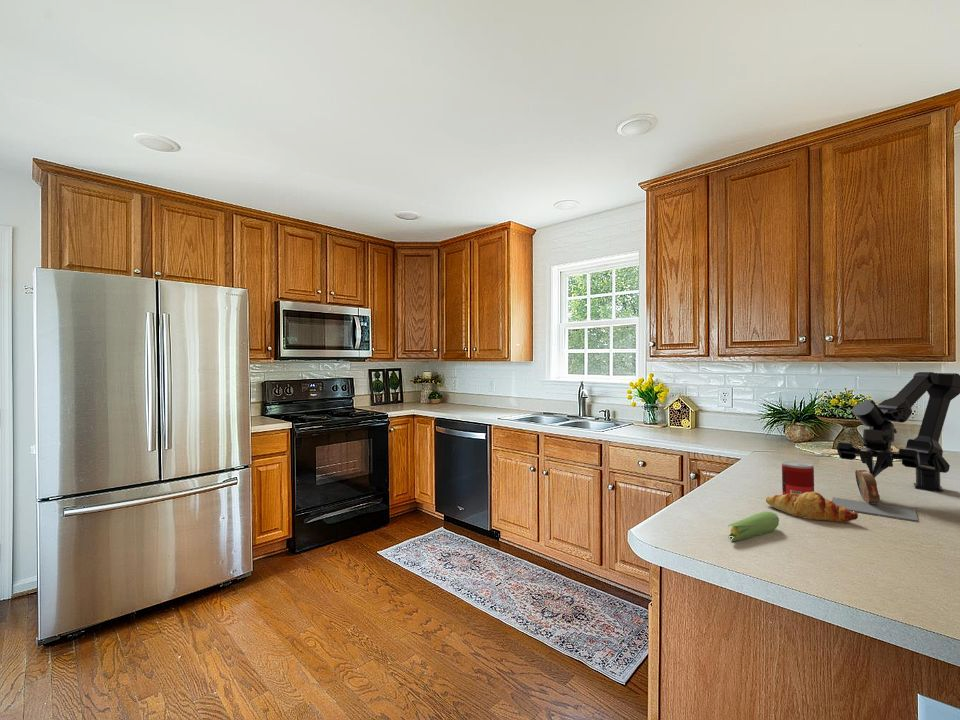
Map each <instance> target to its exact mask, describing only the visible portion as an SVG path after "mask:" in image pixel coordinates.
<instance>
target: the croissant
mask: <svg viewBox="0 0 960 720" xmlns="http://www.w3.org/2000/svg"><path fill="white" fill-rule="evenodd" d="M765 502H766V504H768V505H770V506H771V507H772V508H774V509H777V510H779V511H782V512H783V513H786V514H789V515H791V514H792V516H794V517H798V516H800V518H803V517H806V518H805V519H807V518H810V519H809V520H814V519H815V520H814V521H817V520H819V521H826V520H828V522H836V523H847V522H851V521H854V520H855V521H856V520H857V519H859V514H858V513H859V512H853V511H849V510H848V509H847V508H845V507H842V506H838V505H836V504H835V503H834V502H832V500H830V499H828V498H825V497H824V496H823V495H822V494H821V493H818V492H816V491H815V490H814V491H813V492H805V493H803V494H794V493H789V494H786V495H783V494H774V495H773V496H767V497H765Z"/></svg>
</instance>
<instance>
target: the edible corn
mask: <svg viewBox="0 0 960 720" xmlns="http://www.w3.org/2000/svg"><path fill="white" fill-rule="evenodd" d="M779 523H780V518H779V516H778V514H776V513H775V512H773V511H762V512H758V513H755V514H752V515H750V516H748V517H745V518H742V519H741V520H738V521H735V522H732V523H730V524H728V525H727V526H728V527H730V533H729V535H728V537H729V536H733V537H734V538H733V539H732V540H731V539H730V541H731V542H732V541H734V542H736V540H737V541H741V540H745V538H746V539H749V538H752V536H753V537H756V535H757V536H760V534H761V535H765V534H768V533H772V532H774V531H775V530H776V529H777V527H778V526H779V525H780V524H779ZM748 537H749V538H748Z"/></svg>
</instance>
